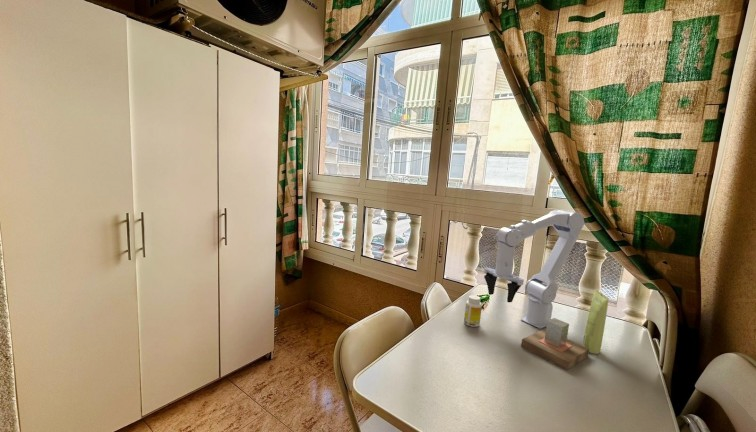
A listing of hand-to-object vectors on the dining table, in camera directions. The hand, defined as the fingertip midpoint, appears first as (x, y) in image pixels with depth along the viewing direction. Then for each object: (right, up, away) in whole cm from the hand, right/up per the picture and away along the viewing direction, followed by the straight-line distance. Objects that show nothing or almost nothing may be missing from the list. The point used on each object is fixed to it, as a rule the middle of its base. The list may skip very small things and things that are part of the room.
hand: (500, 297), depth 113 cm
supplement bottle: (-10, -10, +1) cm, 14 cm away
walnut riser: (+12, -13, -14) cm, 23 cm away
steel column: (+12, -11, -15) cm, 21 cm away
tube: (+25, -14, -12) cm, 31 cm away
